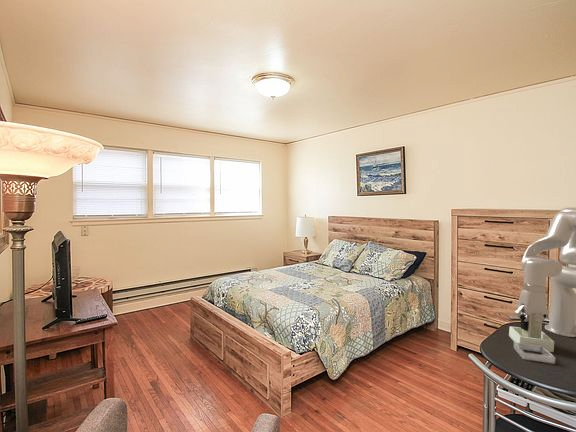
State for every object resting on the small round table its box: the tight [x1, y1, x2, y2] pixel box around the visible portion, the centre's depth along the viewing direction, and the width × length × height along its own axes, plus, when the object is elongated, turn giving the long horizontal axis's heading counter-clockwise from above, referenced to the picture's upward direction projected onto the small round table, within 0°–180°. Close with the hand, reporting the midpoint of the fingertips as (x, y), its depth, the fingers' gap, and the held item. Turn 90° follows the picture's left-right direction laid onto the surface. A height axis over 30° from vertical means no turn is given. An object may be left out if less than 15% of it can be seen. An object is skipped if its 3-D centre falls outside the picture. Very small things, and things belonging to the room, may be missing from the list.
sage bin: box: [508, 326, 555, 353], centre depth 138 cm, size 12×12×4 cm
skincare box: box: [521, 311, 543, 339], centre depth 138 cm, size 6×4×12 cm
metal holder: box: [513, 341, 556, 365], centre depth 127 cm, size 10×10×2 cm
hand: (531, 328), depth 138 cm, fingers closed on skincare box, 6 cm apart
